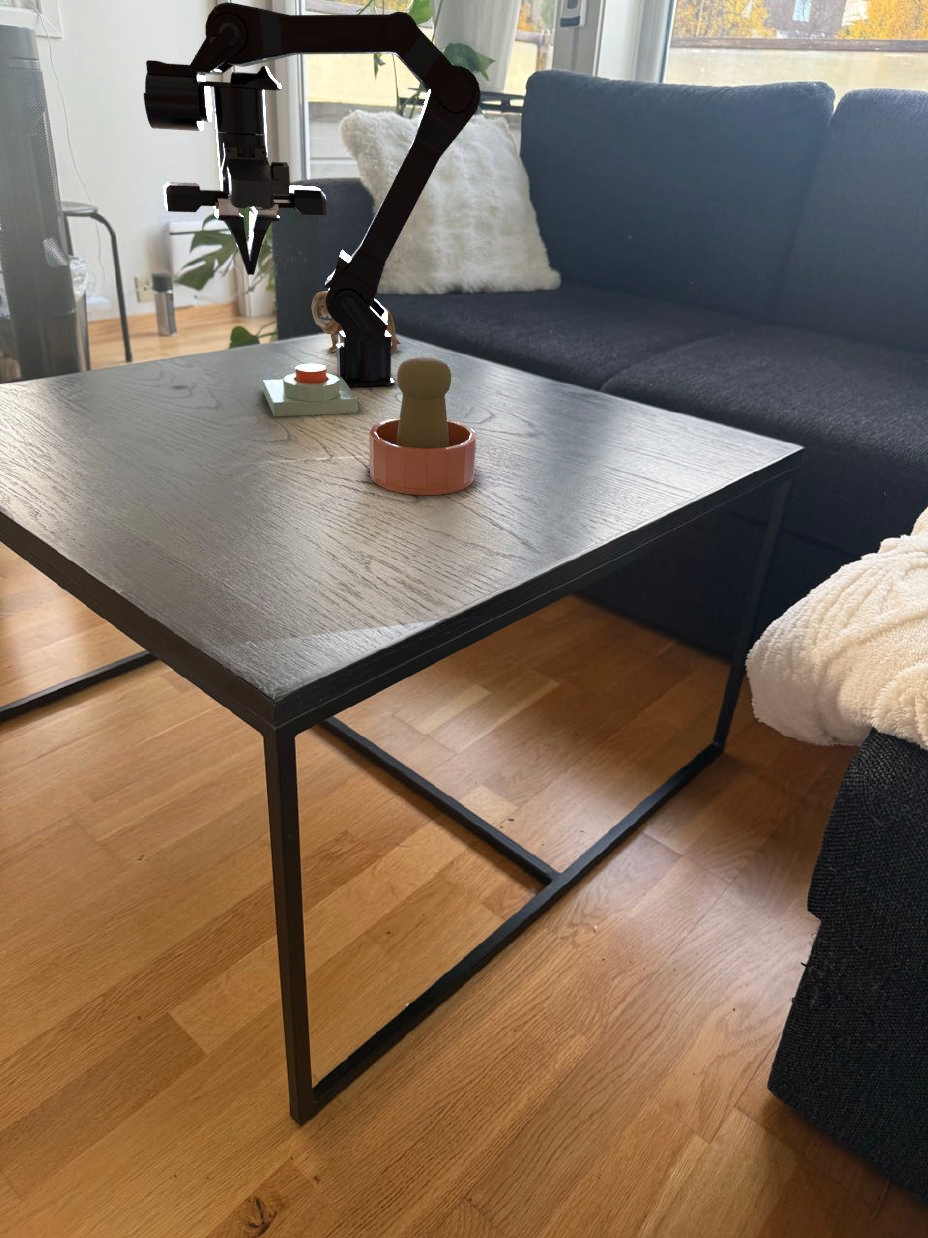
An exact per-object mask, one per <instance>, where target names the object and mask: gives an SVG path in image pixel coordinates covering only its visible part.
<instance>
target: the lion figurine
mask: <svg viewBox="0 0 928 1238" xmlns="http://www.w3.org/2000/svg"><path fill="white" fill-rule="evenodd" d="M327 293H328V290H327V291H326V290H324V291H323V290H322V291H319V292H317V293H316V294H315V295H314V297H313V298H312V302H311V306H310V307H311V308H310V309H311V312H312V318H313V321H314V323H315V324H316V325H317V326H318V327H319V328H320V329H321V330H322V332H323V333H325V334H326V335H330V339H331V345H332V346H330V347H328V352H330V353H336V345H337V343H339V338H340V331H343V329H342V327H341V324H339V323H337V322H336V321H335V320H334V319H332V317H331V316H330V314H329V313H328V310H327V307H326V296H327ZM380 305H381V304H380ZM381 306H382V307H383V308H384V309H385V310H386V311H387V312H388V325H387V330H386V331H387V332H388V333H389V334H390V335H391V353H392V352H394V353H395V352H397V350H398V345H401V342H400V341H399V340H398V338H397V333H396V326H395V322H394V318H393V316H392V314H391V312H390V310H389V309H388V308H387V307H385V306H384V305H381Z"/></svg>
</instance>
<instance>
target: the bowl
mask: <svg viewBox="0 0 928 1238" xmlns="http://www.w3.org/2000/svg"><path fill="white" fill-rule="evenodd" d="M399 418H400V417H397V418H392V419H387V420H383V421H381V422H378V423H376V424H374V425H372V427H371V429H370V430H369V433H368V437H369V438H368V440H369V441H368V446H369V447H368V448H369V449H368V451H369V455H368V456H369V458H368V459H369V471H370V473H369V474H370V479H371V481H372V482H373V483H375V485H377V486H379V487H381V488H383V489H386V490H388V491H391V492H395V493H400V494H405V495H413V496H440V495H446V494H447V495H448V494H452V493H456V492H459V491H462V490H464V489H466V488H468V487H469V486H470V485H471V484H473V481H474V478H475V477H474V475H475V469H476V452H477V450H476V449H477V433H476V431H475V430H474V429H473V428H471V427H470V426H468V425H466V424H463V423H461V422H458V421H455V420H451V419H447V425H448V436H449V446H450V447H447V448H431V449H424V448H410V447H404V446H399V445H396V439H397V432H398V425H399Z"/></svg>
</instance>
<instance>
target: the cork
mask: <svg viewBox="0 0 928 1238" xmlns="http://www.w3.org/2000/svg"><path fill="white" fill-rule="evenodd" d="M396 382H397V386H398V388H399V390H400V392H401V393H402V397H401V406H400V413H399V417H398V418H399V425H398V432H397V439H396V445H399V446H404V447H410V448H424V449H431V448H447V447H450V446H449V436H448V425H447V420H448V415H447V406H446V405H447V404H446V395H447V393H448V392H449V391H450V388H451V384H452V372H451V368H450V366H449V365H448V363H446V361H444V360H442V359H439V358H435V357H431V356H415V357H409V358H407V359H405V360H403V361H402V362H401V363H400V364H399V366H398V370H397V373H396Z"/></svg>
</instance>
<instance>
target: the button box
mask: <svg viewBox="0 0 928 1238" xmlns="http://www.w3.org/2000/svg"><path fill="white" fill-rule="evenodd" d="M326 378H327V382H323V383H316V384H307V383H300V382H297V381H296V372H294V373H289V374H287V375H286V376H284V377H283V378H282V379H281V378H280V379H263V380H262V382H263V384H262V385H263V394H264V396H265V399H266V401H267V403H268V406H269V408H270V410H271V413H272V415H273V417H293V416H294V417H295V416H313V415H317V416H318V415H335V414H336V415H337V414H356V413H357V414H358V413H359V400H358V398H357V396H356V395H355V393H354V392H353V390H351V387H348V385H347V384H346V383H345V381H344V380H343V378H342V377H339V376H338V375H334V374H331V373H328V372H326Z"/></svg>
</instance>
